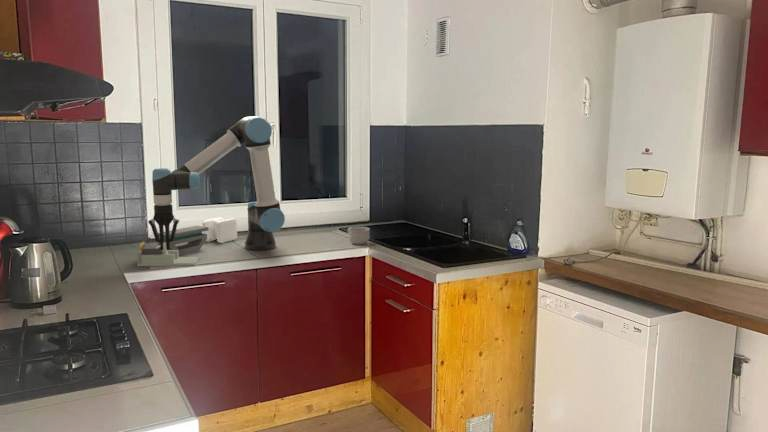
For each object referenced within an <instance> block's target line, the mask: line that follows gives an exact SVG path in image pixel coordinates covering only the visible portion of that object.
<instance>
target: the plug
mask: <svg viewBox="0 0 768 432" xmlns="http://www.w3.org/2000/svg"><path fill="white" fill-rule="evenodd" d="M142 252H143V255H157V254H162V250H161V246H159V245H155V246H154V245H152V246H148V245H145V247H144V248H143V249H142Z"/></svg>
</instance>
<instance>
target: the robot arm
mask: <svg viewBox="0 0 768 432" xmlns="http://www.w3.org/2000/svg"><path fill="white" fill-rule="evenodd" d="M271 125H272V124H270V122H269V121H268V120H267V119H266V118H265V117H262V116H260V115H259V116H258V115H255V116H254V115H253V116H250V115H249V116H245V117H243V118H241V119H240V120H238V121H237V122H236V123H235V124H234V125H232V126H231V127H229V128H228V129H227V130H226V133H225V134H224V135H223V136H221V137H220V138H218V139H217V140H215V141H214V142H213V143H211V144H210V145H209V146H208V147H206V148H205V149H204V150H202V151H201V152H199V153H198V154H196V155H195V156H193V157H192V158H191V159H190V160H189V161H187V162H185V164H183V165H182V166H180V167H179V168H177V169H174V170H172V171H171V168H165V167H164V168H163V167H162V168H159V167H158V168H154V169H153V170H152V175H151V176H152V177H151V178H152V193H153V204H154V205H153V213H154V214H153V218H151V219H149V220H148V224H149V225H150V228H151V230H152V234H153V236H154V240H155V242H157V243H158V242H160V244H161V250H163V254H168V250H169V249H170V242H172V241H173V240H174V237H175V233H176V229H177V228H178V224H179V223H180V219H179V218H178V219H177V218H176V217H175V216H174V214H173V212H174V211H173V204H172V203H173V195H172V193H173V192H172V191H177V190H179V191H180V190H197V189H199V188H200V185H201V184H200V183H201V178H200V177H201V176H200V174H202V173H203V172H204V171H206V170H207V169H208V168H210V167H211V166H212V165H214V164H216V163H217V162H218V161H219V160H221V159H222V158H223V157H224V156H226V155H227V154H228V153H230V152H231V151H233V150H234V149H235V148H237V147H239V148H240V147H242V146H243V145H244V147H245V149H247V150H248V151H249V157H250V163H251V170H252V177H253V181H254V187H255V188H254V189H255V194H256V195H255V196H256V201H250V202H248V203H247V230H248V232H247V235H246V238H245V242H244V248H245V249H247V250H252V251H253V250H254V251H265V250H272V249H275V248H276V247H277V244H276V243H277V242H276V238H275V236H274V233H275V232H277V231H279V230H281V228H282V227H283V226H284V224H285V221H286V220H285V219H286V218H285V217H286V216H285V214H284V212H283V211H282V210H281V205H280V201H279V200H278V199H277V198H276V194H275V186H274V180H273V172H272V165H271V160H270V159H271V158H270V152H269V148H270V146H271V136H272V134H273V129H272V126H271ZM171 223H173V225H172V228H171V229H172V233H171V238H170V231H171V230H170V225H171ZM156 224H157V225H158V228H159V229H157V226H156ZM158 230H159V232H158ZM164 232H165V234H166V242H164V241H165V240H164ZM158 233H160V237H159V235H158Z"/></svg>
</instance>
